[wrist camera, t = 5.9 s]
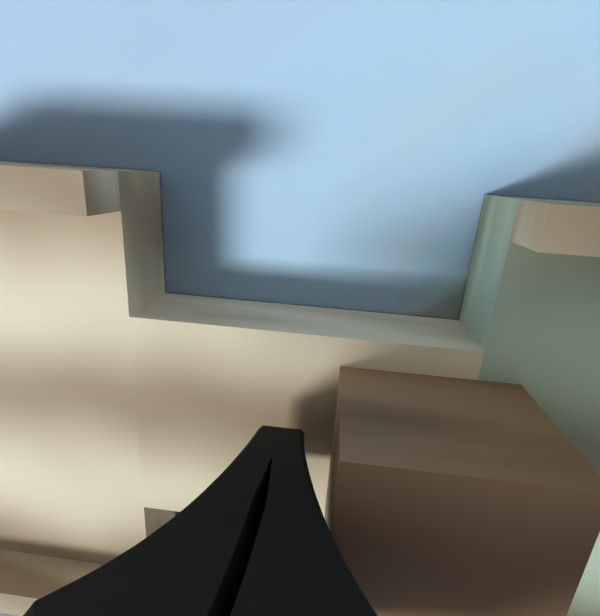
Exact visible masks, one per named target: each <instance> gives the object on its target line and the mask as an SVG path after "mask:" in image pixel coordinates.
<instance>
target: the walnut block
mask: <svg viewBox="0 0 600 616" xmlns="http://www.w3.org/2000/svg"><path fill="white" fill-rule="evenodd" d="M325 521H326V523H327V526H328V528H329V530H330V532H331V534H332V537H333V539H334V541H335V543H336V545H337V547H338V549H339V551H340V553H341V555H342V557H343V559H344V561H345V563H346V564H347V566H348V568H349V570H350V571H351V573H352V575H353V577H354V578H355V580H356V582H357V584H358V585H359V587H360V589H361V591H362V592H363V594H364V596H365V597H366V599H367V600H368V602H369V603H370V605H371V606H372V608H373V609H374V611H375V613H376V614H377V616H567V613H568V611H569V608H570V606H571V603H572V600H573V598H574V595H575V593H576V590H577V588H578V585H579V583H580V580H581V578H582V575H583V573H584V570H585V568H586V565H587V563H588V560H589V557H590V555H591V552H592V550H593V547H594V545H595V542H596V540H597V537H598V535H599V532H600V476H599V474H598V473H597V472H596V471H595V470H594V469H593V467H592V466H591V465H590V464H589V463H588V462H587V460H586V459H585V458H584V457H583V456H582V455H581V453H580V452H579V451H578V450H577V449H576V448H575V446H574V445H573V444H572V443H571V442H570V441H569V439H568V438H567V437H566V436H565V435H564V434H563V432H562V431H561V430H560V429H559V428H558V427H557V425H556V424H555V423H554V422H553V421H552V420H551V418H550V417H549V416H548V415H547V414H546V413H545V411H544V410H543V409H542V408H541V407H540V406H539V405H538V403H537V402H536V401H535V400H534V399H533V398H532V396H531V395H530V394H529V393H528V392H527V391H526V389H525V388H524V387H523V386H522V385H520V384H511V383H501V382H491V381H481V380H471V379H461V378H451V377H441V376H431V375H422V374H412V373H402V372H392V371H382V370H372V369H362V368H352V367H342V366H340V371H339V381H338V390H337V399H336V409H335V418H334V428H333V437H332V447H331V456H330V466H329V475H328V485H327V494H326V504H325Z"/></svg>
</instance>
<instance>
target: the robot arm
mask: <svg viewBox="0 0 600 616" xmlns="http://www.w3.org/2000/svg"><path fill="white" fill-rule="evenodd" d="M23 616H377V614H376V613H375V611H374V609H373V608H372V606H371V605H370V603H369V602H368V600H367V599H366V597H365V596H364V594H363V592H362V591H361V589H360V587H359V585H358V584H357V582H356V580H355V578H354V577H353V575H352V573H351V571H350V570H349V568H348V566H347V564H346V563H345V561H344V559H343V557H342V555H341V553H340V551H339V549H338V547H337V545H336V543H335V541H334V539H333V537H332V534H331V532H330V530H329V528H328V526H327V523H326V521H325V518H324V516H323V513H322V511H321V508H320V505H319V502H318V500H317V497H316V494H315V491H314V488H313V484H312V481H311V477H310V473H309V470H308V465H307V461H306V455H305V448H304V432H303V431H302V430H301V429H292V428H283V427H274V426H265V425H263V426H261V427H260V428H259V429H258V430H257V432H256V433H255V435H254V436H253V437H252V439H251V440H250V441H249V442H248V444H247V445H246V446H245V447H244V449H243V450H242V451H241V452H240V453H239V455H238V456H237V457H236V458H235V459H234V460H233V461H232V462H231V464H230V465H229V466H228V467H227V468H226V469H225V470H224V471H223V472H222V473H221V474H220V475H219V476H218V477H217V478H216V479H215V480H214V481H213V482H212V483H211V484H210V485H209V486H208V487H207V488H206V489H205V490H204V491H203V492H202V493H201V494H200V495H199V496H198V497H197V498H196V499H195V500H193V501H192V502H191V503H190V504H189V505H188V506H187V507H185V508H184V509H183V510H182V511H180V512H179V513H178V514H177V515H176V516H174V517H173V518H172V519H171V520H169V521H168V522H167V523H165V524H164V525H163V526H161V527H160V528H159V529H157V530H156V531H155V532H153V533H152V534H151V535H149V536H148V537H146V538H145V539H143V540H142V541H141V542H139V543H138V544H136V545H135V546H133V547H132V548H130V549H128V550H127V551H125V552H124V553H122V554H120V555H119V556H117V557H116V558H114V559H112V560H111V561H109V562H108V563H106V564H104V565H102V566H101V567H99V568H97V569H96V570H94V571H92V572H90V573H88V574H87V575H85V576H83V577H81V578H79V579H77V580H75V581H73V582H71V583H69V584H67V585H65V586H63V587H62V588H60V589H58V590H56V591H54V592H52V593H50V594H48V595H46V596H44V597H42V598H40V599H38V600H36V601H34V603H33V604H32V605H31V606H30V608H29V609H28V610H27V611H26V612H25V614H24V615H23Z"/></svg>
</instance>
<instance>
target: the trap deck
mask: <svg viewBox="0 0 600 616" xmlns="http://www.w3.org/2000/svg"><path fill="white" fill-rule="evenodd" d="M340 366H342V367H352V368H362V369H372V370H382V371H392V372H402V373H412V374H422V375H431V376H441V377H451V378H461V379H471V380H481V381H491V382H501V383H511V384H520V385H522V386H523V387H524V388H525V389H526V391H527V392H528V393H529V394H530V395H531V396H532V398H533V399H534V400H535V401H536V402H537V403H538V405H539V406H540V407H541V408H542V409H543V410H544V411H545V413H546V414H547V415H548V416H549V417H550V418H551V420H552V421H553V422H554V423H555V424H556V425H557V427H558V428H559V429H560V430H561V431H562V432H563V434H564V435H565V436H566V437H567V438H568V439H569V441H570V442H571V443H572V444H573V445H574V446H575V448H576V449H577V450H578V451H579V452H580V453H581V455H582V456H583V457H584V458H585V459H586V460H587V462H588V463H589V464H590V465H591V466H592V467H593V469H594V470H595V471H596V472H597V473H598V474H599V476H600V202H585V201H571V200H557V199H543V198H528V197H514V196H500V195H484V200H483V204H482V209H481V214H480V219H479V224H478V229H477V234H476V239H475V244H474V248H473V253H472V258H471V263H470V268H469V273H468V278H467V283H466V288H465V292H464V297H463V302H462V307H461V312H460V317H459V320H453V319H442V318H431V317H420V316H409V315H399V314H388V313H377V312H366V311H355V310H345V309H334V308H323V307H312V306H302V305H291V304H280V303H269V302H258V301H248V300H237V299H226V298H215V297H204V296H194V295H183V294H172V293H165V278H164V256H163V234H162V212H161V190H160V172H156V171H142V170H128V169H114V168H99V167H85V166H71V165H56V164H42V163H28V162H13V161H0V613H5V614H12V615H18V616H23V615H24V614H25V612H26V611H27V610H28V609H29V608H30V606H31V605H32V604H33V603H34V601H36V600H38V599H40V598H42V597H44V596H46V595H48V594H50V593H52V592H54V591H56V590H58V589H60V588H62V587H63V586H65V585H67V584H69V583H71V582H73V581H75V580H77V579H79V578H81V577H83V576H85V575H87V574H88V573H90V572H92V571H94V570H96V569H97V568H99V567H101V566H102V565H104V564H106V563H108V562H109V561H111V560H112V559H114V558H116V557H117V556H119V555H120V554H122V553H124V552H125V551H127V550H128V549H130V548H132V547H133V546H135V545H136V544H138V543H139V542H141V541H142V540H143V539H145V538H146V537H148V536H149V535H151V534H152V533H153V532H155V531H156V530H157V529H159V528H160V527H161V526H163V525H164V524H165V523H167V522H168V521H169V520H171V519H172V518H173V517H174V516H175V511H177V512H180V511H182V510H183V509H184V508H185V507H187V506H188V505H189V504H190V503H191V502H192V501H193V500H195V499H196V498H197V497H198V496H199V495H200V494H201V493H202V492H203V491H204V490H205V489H206V488H207V487H208V486H209V485H210V484H211V483H212V482H213V481H214V480H215V479H216V478H217V477H218V476H219V475H220V474H221V473H222V472H223V471H224V470H225V469H226V468H227V467H228V466H229V465H230V464H231V462H232V461H233V460H234V459H235V458H236V457H237V456H238V455H239V453H240V452H241V451H242V450H243V449H244V447H245V446H246V445H247V444H248V442H249V441H250V440H251V439H252V437H253V436H254V435H255V433H256V432H257V430H258V429H259V428H260V427H261V426H263V425H265V426H274V427H283V428H292V429H301V430H302V431H303V432H304V448H305V455H306V461H307V465H308V470H309V473H310V477H311V481H312V484H313V488H314V491H315V494H316V497H317V500H318V502H319V505H320V508H321V511H322V513H323V516H324V518H325V504H326V494H327V485H328V475H329V466H330V456H331V447H332V437H333V428H334V418H335V409H336V399H337V390H338V381H339V371H340ZM567 616H600V532H599V535H598V537H597V540H596V542H595V545H594V547H593V550H592V552H591V555H590V557H589V560H588V563H587V565H586V568H585V570H584V573H583V575H582V578H581V580H580V583H579V585H578V588H577V590H576V593H575V595H574V598H573V600H572V603H571V606H570V608H569V611H568V613H567Z"/></svg>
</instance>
